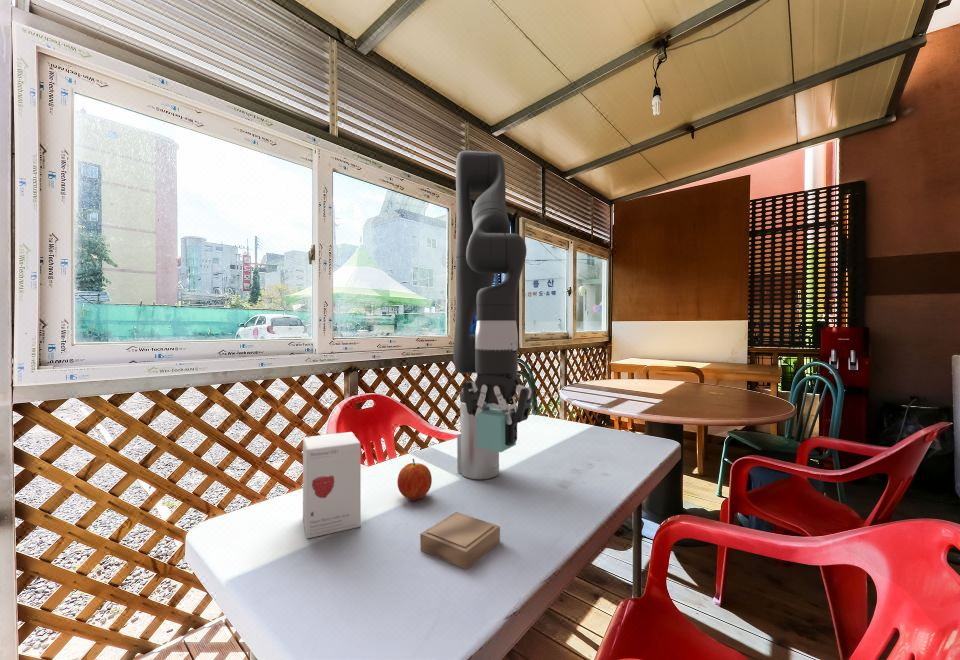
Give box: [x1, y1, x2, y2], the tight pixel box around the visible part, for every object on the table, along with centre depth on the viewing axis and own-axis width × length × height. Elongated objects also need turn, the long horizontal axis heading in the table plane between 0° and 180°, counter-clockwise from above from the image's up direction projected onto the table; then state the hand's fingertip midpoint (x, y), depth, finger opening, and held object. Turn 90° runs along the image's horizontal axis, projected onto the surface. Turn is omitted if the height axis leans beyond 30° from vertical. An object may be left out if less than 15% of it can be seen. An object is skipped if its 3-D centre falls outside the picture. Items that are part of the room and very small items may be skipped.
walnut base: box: [419, 511, 501, 570], centre depth 63 cm, size 9×9×3 cm
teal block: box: [477, 408, 517, 453], centre depth 70 cm, size 5×5×6 cm
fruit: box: [396, 458, 433, 501], centre depth 81 cm, size 7×7×8 cm
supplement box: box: [302, 431, 362, 539], centre depth 71 cm, size 9×9×15 cm
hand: (496, 441), depth 70 cm, fingers closed on teal block, 5 cm apart
